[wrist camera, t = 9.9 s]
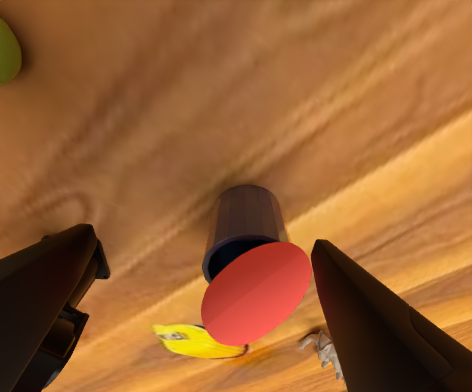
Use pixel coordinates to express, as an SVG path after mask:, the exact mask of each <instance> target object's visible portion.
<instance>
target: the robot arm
mask: <svg viewBox="0 0 472 392" xmlns="http://www.w3.org/2000/svg"><path fill="white" fill-rule="evenodd" d="M311 262H312V267H313V272H314V277H315V282H316V288H317V292H318V296H319V300H320V303H321V306H322V309H323V313H324V316H325V319H326V322H327V325H328V329H329V332H330V335H331V338H332V341H333V345H334V348H335V351H336V354H337V358H338V361H339V364H340V367H341V370H342V374H343V377H344V380H345V383H346V386H347V390H348V392H472V352H471V351H470V350H469V349H467V348H466V347H464V346H463V345H462V344H460V343H459V342H457V341H456V340H455V339H453V338H452V337H451V336H449V335H448V334H446V333H445V332H444V331H442V330H441V329H440V328H438V327H437V326H436V325H434V324H433V323H432V322H431V321H429V320H428V319H427V318H425V317H424V316H423V315H421V314H420V313H419V312H418V311H416V310H415V309H414V308H413V307H411V306H409V304H407V303H406V302H405V301H404V300H402V299H401V298H400V297H399V296H397V295H396V294H395V293H394V292H392V291H391V290H390V289H389V288H387V287H386V286H385V285H384V284H382V283H381V282H380V281H378V280H377V279H376V278H375V277H373V276H372V275H371V274H370V273H368V272H367V271H366V270H365V269H363V268H362V267H361V266H360V265H358V264H357V263H356V262H354V261H353V260H352V259H351V258H349V257H348V256H347V255H346V254H344V253H343V252H342V251H341V250H339V249H338V248H337V247H336V246H334V245H333V244H332V243H331V242H329V241H328V240H323V239H317V240H316V241H315V244H314V247H313V250H312V253H311ZM109 277H110V272H109V269H108V266H107V263H106V259H105V256H104V253H103V250H102V247H101V244H100V241H99V240H97V238H96V235H95V232H94V228H93V226H92V225H90V224H78V225H76V226H73V227H71V228H69V229H67V230H64V231H62V232H60V233H58V234H56V235H53V236H44V237H43V238H42V239H41V241H40V242H38V243H36V244H33V245H31V246H29V247H27V248H25V249H22V250H20V251H18V252H16V253H13V254H11V255H9V256H7V257H5V258H2V259H0V392H41V391H42V389H44V388H46V387H47V386H48V385H49V384H50V383H51V382H52V381H53V380H54V379H55V378H56V377H57V376H58V374H59V373H60V372H61V371H62V369H63V368H64V366H65V365H66V363H67V362H68V360H69V359H70V357H71V355H72V353H73V351H74V349H75V347H76V345H77V342H78V340H79V338H80V336H81V333H82V331H83V329H84V327H85V324H86V322H87V320H88V318H89V315H88V314H86V313H82V312H81V311H79V310H77V309H75V308H76V307H77V305H78V304H79V302H80V301H81V300H82V298H83V297H84V295H85V294H86V292H87V291H88V289H89V288H90V286H91V285H92V283H93V282H94V280H95V279H108V278H109Z"/></svg>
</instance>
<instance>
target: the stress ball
mask: <svg viewBox="0 0 472 392" xmlns="http://www.w3.org/2000/svg"><path fill="white" fill-rule="evenodd" d="M311 274H312V268H311V264H310V261H309V258H308V256H307V255H306V253H305V252H304V251H303V250H302V249H301V248H299V247H298V246H296V245H294V244H293V243H290V242H274V243H269V244H264V245H261V246H259V247H256V248H253V249H251V250H249V251H247V252H246V253H244V254H242V255H240V256H239V257H238V258H236V259H235V260H234V261H232V262H231V263H230V264H229V265H227V266H226V267H225V268H224V269H223V270H222V271H221V272H220V273H219V274H218V275H217V276H216V277H215V278H214V279H213V281H212V282H211V283H210V285H209V286H208V288H207V290H206V292H205V294H204V298H203V301H202V306H201V316H202V321H203V324H204V327H205V329H206V330H207V332H208V333H209V335H210V336H211V337H212V338H213V339H214V340H216V341H217V342H219V343H221V344H224V345H229V346H242V345H245V344H248V343H250V342H253V341H255V340H257V339H259V338H261V337H262V336H264V335H266V334H267V333H269V332H270V331H272V330H273V329H274V328H276V327H277V326H278V325H279V324H280V323H282V322H283V321H284V320H285V319H286V318H287V317H288V316H289V315H290V314H291V313H292V312H293V311H294V310H295V308H296V307H297V305H298V304H299V303H300V301H301V300H302V298H303V297H304V295H305V292H306V290H307V288H308V286H309V283H310V278H311Z"/></svg>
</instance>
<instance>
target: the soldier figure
mask: <svg viewBox="0 0 472 392" xmlns="http://www.w3.org/2000/svg"><path fill="white" fill-rule="evenodd" d="M311 341H314V342H315V343H316V345H317V348H318V352H319V353H318V357H319V359H320V360H321V361H323V362H322V365H321V366H322V368H326V366H327V364H328V363H329V362H330V361H331V362H332V364H333V366H334V369H335V371H336V372H337V373H336V379H337V380H340V379H341V377H342V370H341V367H340V364H339V361H338V358H337V354H336V351H335V348H334V345H333V341H332V338H331V337H329V336H328V335H326V334H325V333H324V332H323V331H322V330H321V331H320V332H319V335H317V334H310V335H309V336H307V337H306V338H305V339H304V340H303V342H301V343H300V345H299V347H300V348H301V349H302V350H303V348H304V346H305V345H306V344H308V343H309V342H311ZM342 379H343V380H344V377H343V378H342ZM343 385H345V386H346V384H345V380H344V384H343Z"/></svg>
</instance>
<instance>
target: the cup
mask: <svg viewBox="0 0 472 392" xmlns="http://www.w3.org/2000/svg"><path fill="white" fill-rule="evenodd" d="M274 242H290V243H291V240H290V237H289V233H288V230H287V226H286V223H285V219H284V216H283V212H282V209H281V207H280V204H279V202H278V200H277V199H276V197H275V196H274V195H273V194H272V193H271V192H269V191H268V190H266V189H264V188H261V187H258V186H253V185H241V186H237V187H234V188H231V189H229V190H227V191H226V192H224V193H223V194H222V195H221V196H220V197H219V198H218V199H217V201H216V203H215V205H214V209H213V213H212V218H211V223H210V228H209V233H208V238H207V243H206V248H205V254H204V259H203V264H202V269H203V273H204V277H205V279H206V280H207V282H208V283H209V284H210V283H211V282H212V281H213V279H214V278H215V277H216V276H217V275H218V274H219V273H220V272H221V271H222V270H223V269H224V268H225V267H226V266H227V265H229V264H230V263H231V262H232V261H234V260H235V259H236V258H238V257H239V256H240V255H242V254H244V253H246V252H247V251H249V250H251V249H253V248H256V247H259V246H261V245H264V244H269V243H274Z"/></svg>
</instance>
